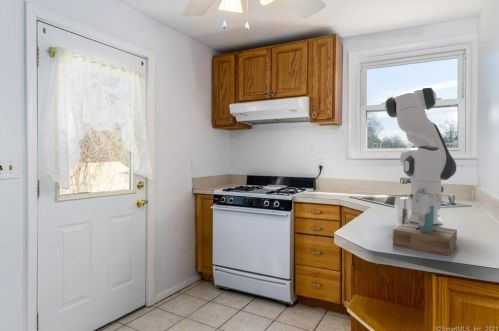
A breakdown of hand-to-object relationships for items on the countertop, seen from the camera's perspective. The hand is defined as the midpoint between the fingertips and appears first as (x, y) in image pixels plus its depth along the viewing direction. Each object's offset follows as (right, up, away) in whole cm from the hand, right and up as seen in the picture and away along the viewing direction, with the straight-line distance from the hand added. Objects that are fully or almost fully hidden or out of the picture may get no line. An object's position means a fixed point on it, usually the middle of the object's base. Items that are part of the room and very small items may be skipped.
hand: (425, 224), depth 116 cm
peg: (0, -5, 0) cm, 5 cm away
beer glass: (+3, -8, +24) cm, 25 cm away
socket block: (0, -8, 0) cm, 8 cm away
